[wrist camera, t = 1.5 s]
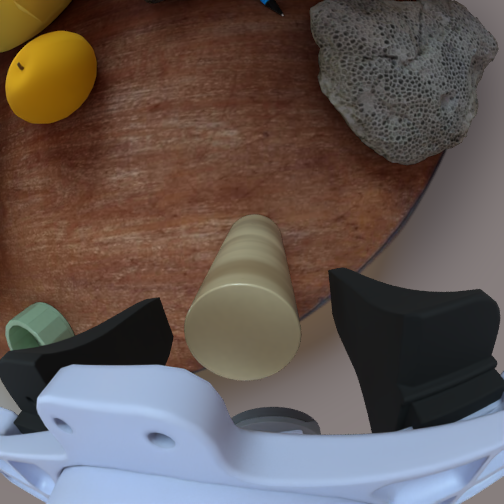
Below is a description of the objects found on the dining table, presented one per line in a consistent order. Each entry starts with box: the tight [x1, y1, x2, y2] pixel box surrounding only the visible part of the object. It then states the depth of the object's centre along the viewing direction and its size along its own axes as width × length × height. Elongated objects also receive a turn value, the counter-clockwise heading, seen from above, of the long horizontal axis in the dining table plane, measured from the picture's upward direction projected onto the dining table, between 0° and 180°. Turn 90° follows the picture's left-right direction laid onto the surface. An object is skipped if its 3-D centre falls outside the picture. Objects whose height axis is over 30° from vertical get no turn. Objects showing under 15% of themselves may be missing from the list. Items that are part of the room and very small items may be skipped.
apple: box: [5, 31, 97, 124], centre depth 15 cm, size 8×8×8 cm
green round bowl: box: [5, 302, 75, 350], centre depth 24 cm, size 8×8×4 cm
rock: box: [310, 0, 498, 165], centre depth 15 cm, size 15×16×5 cm
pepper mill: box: [184, 214, 301, 381], centre depth 16 cm, size 4×4×13 cm
